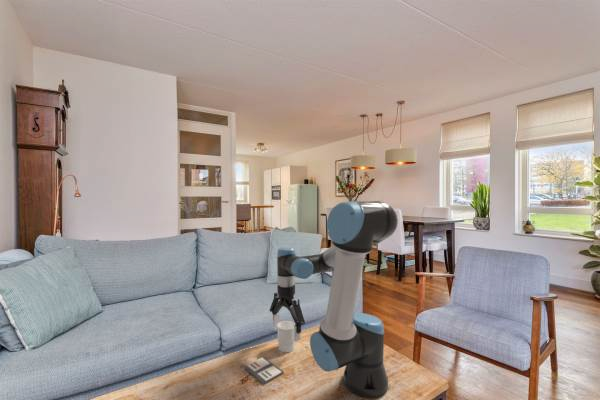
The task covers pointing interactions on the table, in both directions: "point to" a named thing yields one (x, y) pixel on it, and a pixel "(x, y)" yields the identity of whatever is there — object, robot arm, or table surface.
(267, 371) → the label board
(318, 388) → the table surface
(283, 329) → the white cup
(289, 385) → the table surface
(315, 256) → the robot arm
